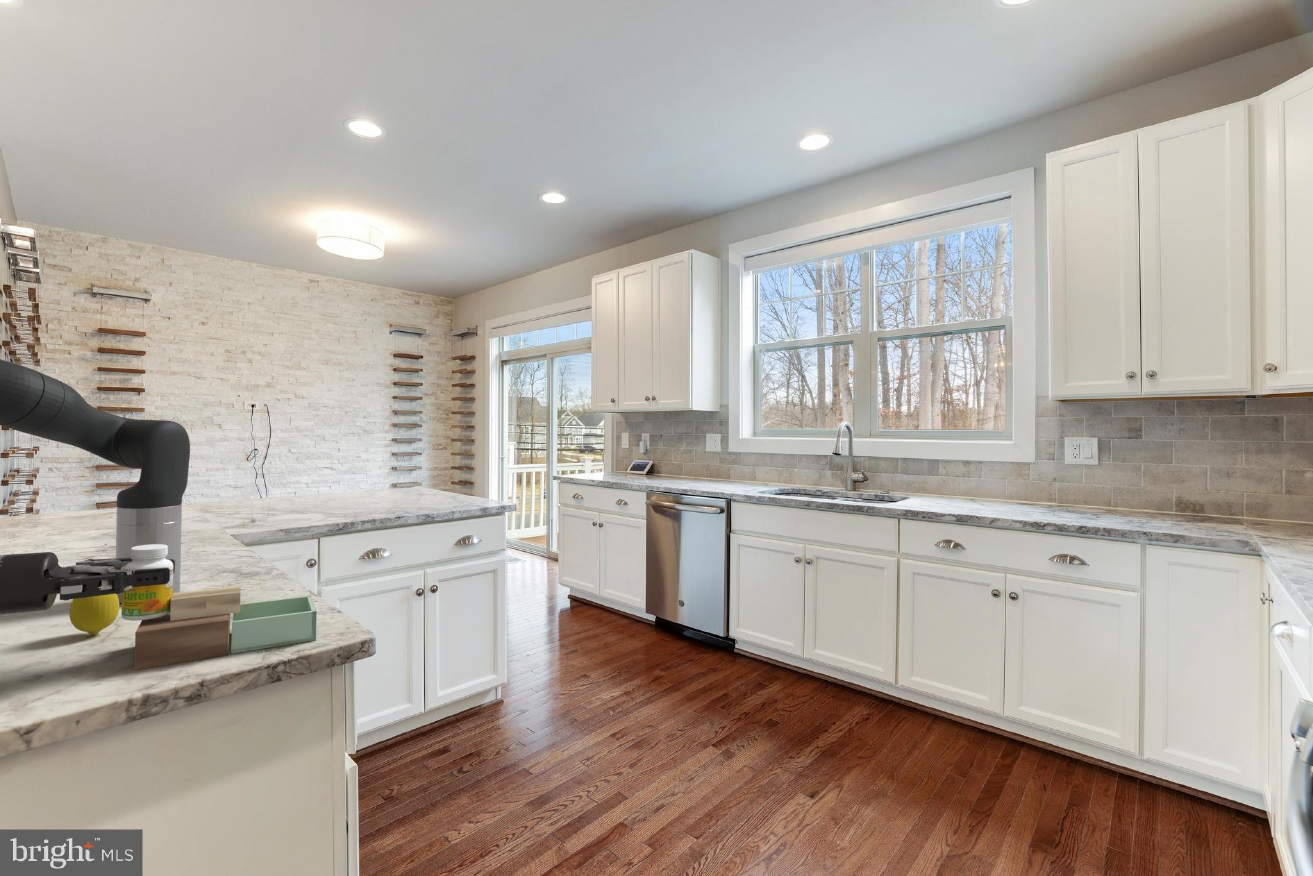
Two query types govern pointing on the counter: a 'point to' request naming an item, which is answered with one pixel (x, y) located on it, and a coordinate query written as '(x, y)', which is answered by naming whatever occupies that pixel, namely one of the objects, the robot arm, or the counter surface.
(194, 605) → the maple block
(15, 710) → the counter surface
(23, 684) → the counter surface
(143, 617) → the supplement bottle
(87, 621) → the lemon
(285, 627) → the tray
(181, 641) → the walnut block
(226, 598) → the maple block
